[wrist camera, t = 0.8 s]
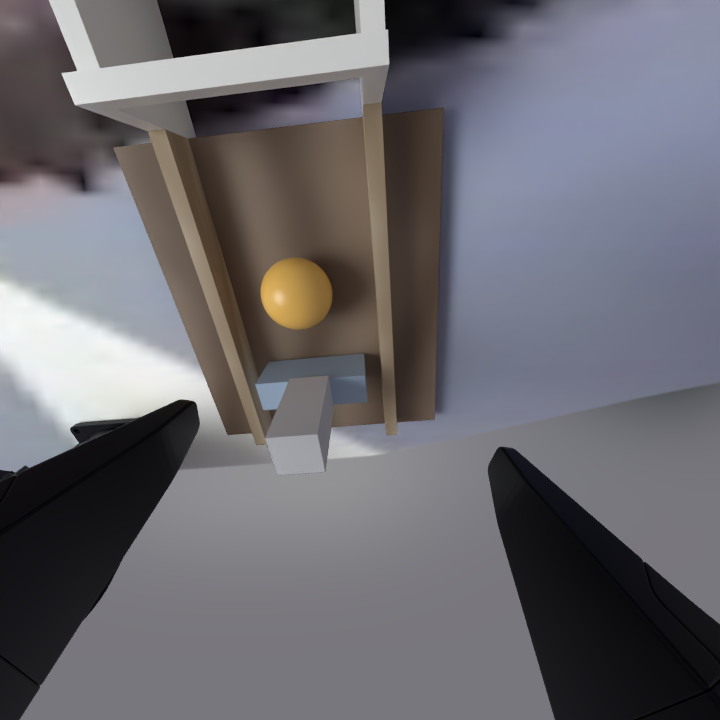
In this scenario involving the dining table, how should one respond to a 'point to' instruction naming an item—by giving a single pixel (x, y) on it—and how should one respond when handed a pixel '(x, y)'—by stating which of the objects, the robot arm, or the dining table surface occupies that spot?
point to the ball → (296, 293)
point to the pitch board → (303, 252)
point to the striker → (307, 407)
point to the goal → (201, 63)
